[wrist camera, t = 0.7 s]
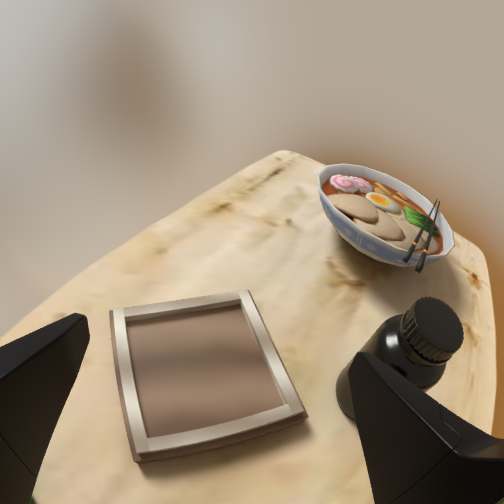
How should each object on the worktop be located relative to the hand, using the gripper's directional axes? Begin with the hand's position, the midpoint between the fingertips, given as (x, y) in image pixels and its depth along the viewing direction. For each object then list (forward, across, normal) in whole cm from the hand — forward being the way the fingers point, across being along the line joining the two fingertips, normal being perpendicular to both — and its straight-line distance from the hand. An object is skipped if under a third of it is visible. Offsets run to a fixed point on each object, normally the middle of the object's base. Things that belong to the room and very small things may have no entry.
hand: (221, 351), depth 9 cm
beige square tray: (+12, +1, +13) cm, 17 cm away
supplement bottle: (+10, -14, +13) cm, 22 cm away
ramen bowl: (+33, -22, +5) cm, 40 cm away
